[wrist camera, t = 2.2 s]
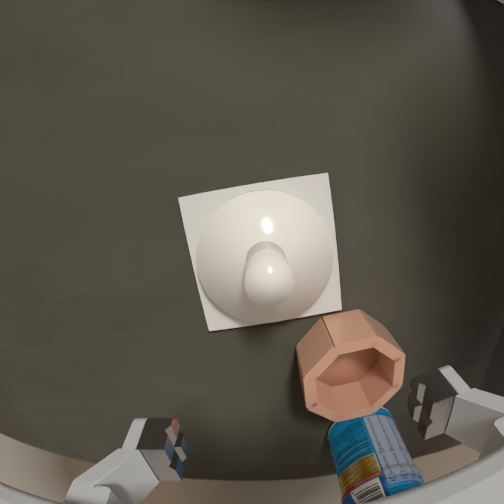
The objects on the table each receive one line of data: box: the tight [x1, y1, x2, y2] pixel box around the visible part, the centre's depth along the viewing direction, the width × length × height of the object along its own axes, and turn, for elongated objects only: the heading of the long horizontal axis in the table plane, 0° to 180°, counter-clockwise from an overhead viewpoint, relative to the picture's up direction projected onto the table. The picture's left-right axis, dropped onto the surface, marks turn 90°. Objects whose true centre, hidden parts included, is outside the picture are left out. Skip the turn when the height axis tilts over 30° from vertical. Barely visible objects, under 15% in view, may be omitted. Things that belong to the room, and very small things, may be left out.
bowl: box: [296, 309, 406, 422], centre depth 27 cm, size 9×9×5 cm
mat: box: [178, 173, 342, 331], centre depth 27 cm, size 12×12×1 cm
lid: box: [196, 190, 334, 323], centre depth 24 cm, size 11×11×6 cm
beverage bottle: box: [328, 407, 423, 504], centre depth 23 cm, size 8×8×20 cm
